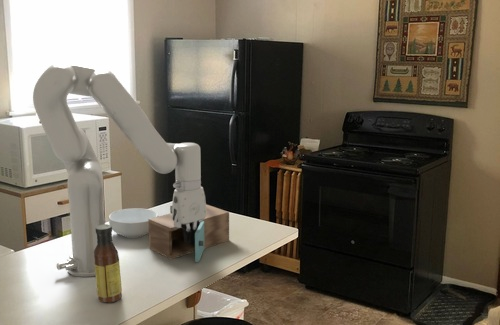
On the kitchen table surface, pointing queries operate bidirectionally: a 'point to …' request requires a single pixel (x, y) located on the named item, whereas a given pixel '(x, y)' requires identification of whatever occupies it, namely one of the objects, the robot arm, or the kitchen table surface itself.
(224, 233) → the cabinet
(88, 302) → the kitchen table surface
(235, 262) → the kitchen table surface
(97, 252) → the sauce bottle
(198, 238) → the door
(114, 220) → the cereal bowl
